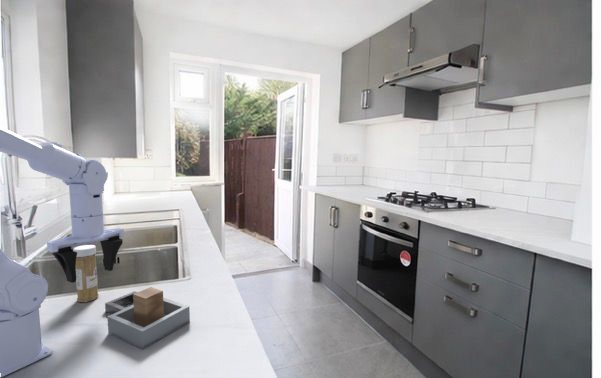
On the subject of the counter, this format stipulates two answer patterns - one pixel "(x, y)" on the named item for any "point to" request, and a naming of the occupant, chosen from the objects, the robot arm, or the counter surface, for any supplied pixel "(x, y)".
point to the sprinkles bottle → (86, 273)
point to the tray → (148, 335)
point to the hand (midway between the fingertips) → (91, 275)
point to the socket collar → (119, 303)
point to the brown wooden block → (148, 306)
